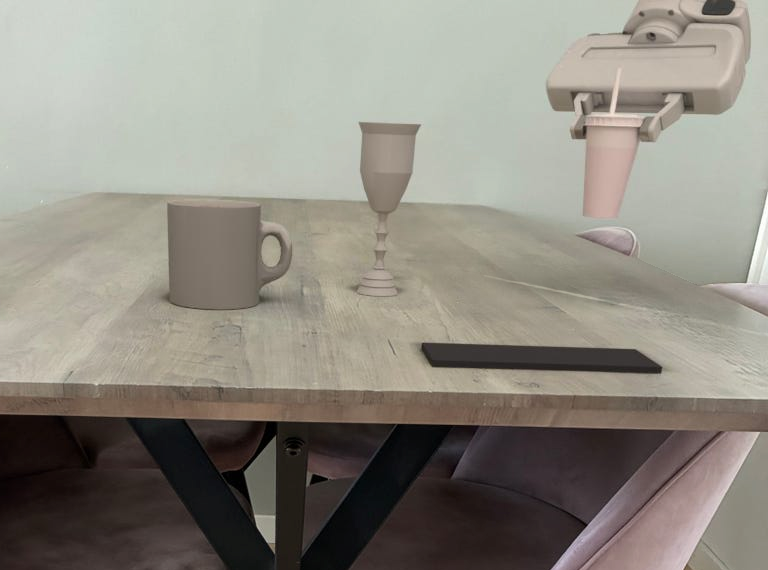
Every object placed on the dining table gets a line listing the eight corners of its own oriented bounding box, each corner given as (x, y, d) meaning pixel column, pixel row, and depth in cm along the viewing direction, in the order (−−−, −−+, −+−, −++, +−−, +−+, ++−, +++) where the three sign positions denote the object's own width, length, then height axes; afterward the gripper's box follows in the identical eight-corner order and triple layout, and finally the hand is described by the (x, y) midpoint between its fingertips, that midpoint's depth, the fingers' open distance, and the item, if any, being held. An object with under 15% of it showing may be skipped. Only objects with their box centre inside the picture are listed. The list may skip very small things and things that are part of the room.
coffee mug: (160, 306, 102) (157, 204, 97) (180, 291, 111) (178, 197, 106) (284, 313, 101) (287, 210, 96) (294, 298, 110) (297, 203, 105)
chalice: (379, 285, 119) (391, 122, 111) (418, 294, 115) (434, 124, 106) (335, 290, 115) (345, 121, 106) (375, 299, 111) (388, 123, 102)
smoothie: (579, 212, 108) (602, 69, 101) (636, 216, 105) (664, 69, 99) (562, 216, 103) (585, 66, 97) (622, 220, 101) (649, 66, 94)
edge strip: (634, 355, 89) (635, 349, 88) (661, 373, 83) (662, 366, 82) (420, 349, 88) (421, 342, 88) (432, 366, 82) (432, 359, 82)
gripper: (571, 10, 105) (515, 109, 103) (763, 2, 94) (704, 113, 92) (582, 60, 110) (529, 155, 109) (765, 57, 99) (710, 164, 97)
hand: (611, 136), depth 100 cm, fingers closed on smoothie, 6 cm apart
